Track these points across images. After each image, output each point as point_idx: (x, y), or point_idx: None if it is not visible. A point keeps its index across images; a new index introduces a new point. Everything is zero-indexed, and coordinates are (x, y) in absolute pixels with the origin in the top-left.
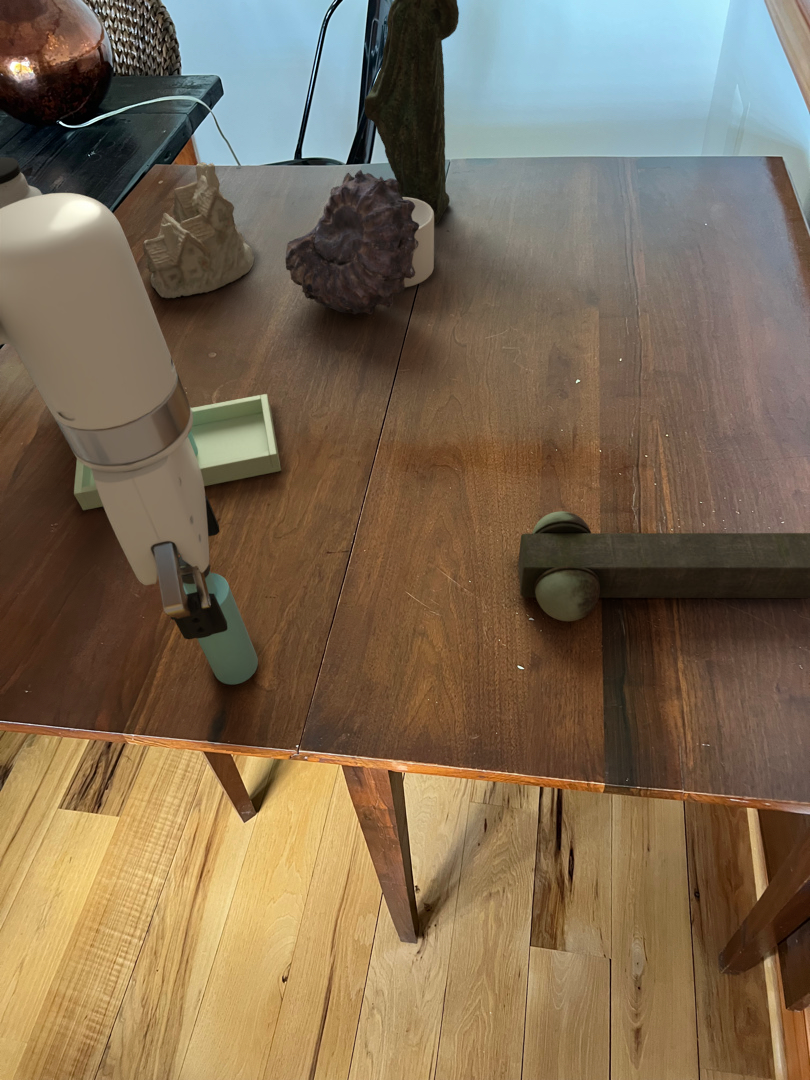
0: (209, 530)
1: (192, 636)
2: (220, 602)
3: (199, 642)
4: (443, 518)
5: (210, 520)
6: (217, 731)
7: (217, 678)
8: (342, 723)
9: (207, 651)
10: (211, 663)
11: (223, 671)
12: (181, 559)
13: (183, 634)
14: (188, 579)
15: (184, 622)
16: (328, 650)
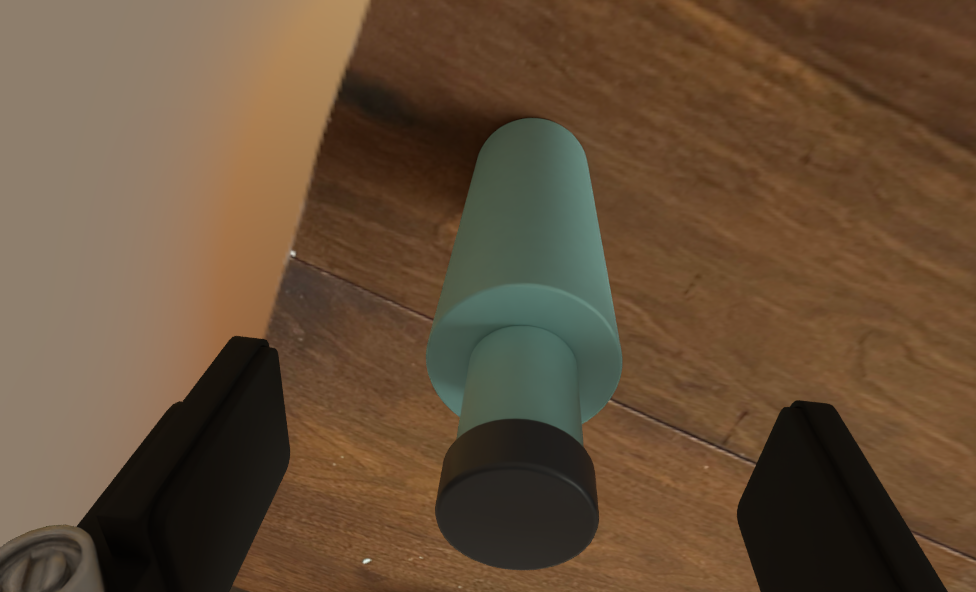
0: (753, 522)
1: (175, 403)
2: (454, 406)
3: (497, 188)
4: (699, 578)
5: (765, 590)
6: (361, 97)
7: (505, 125)
8: (325, 336)
9: (479, 190)
10: (491, 158)
11: (474, 172)
12: (558, 500)
13: (220, 356)
14: (440, 481)
15: (107, 488)
16: None
